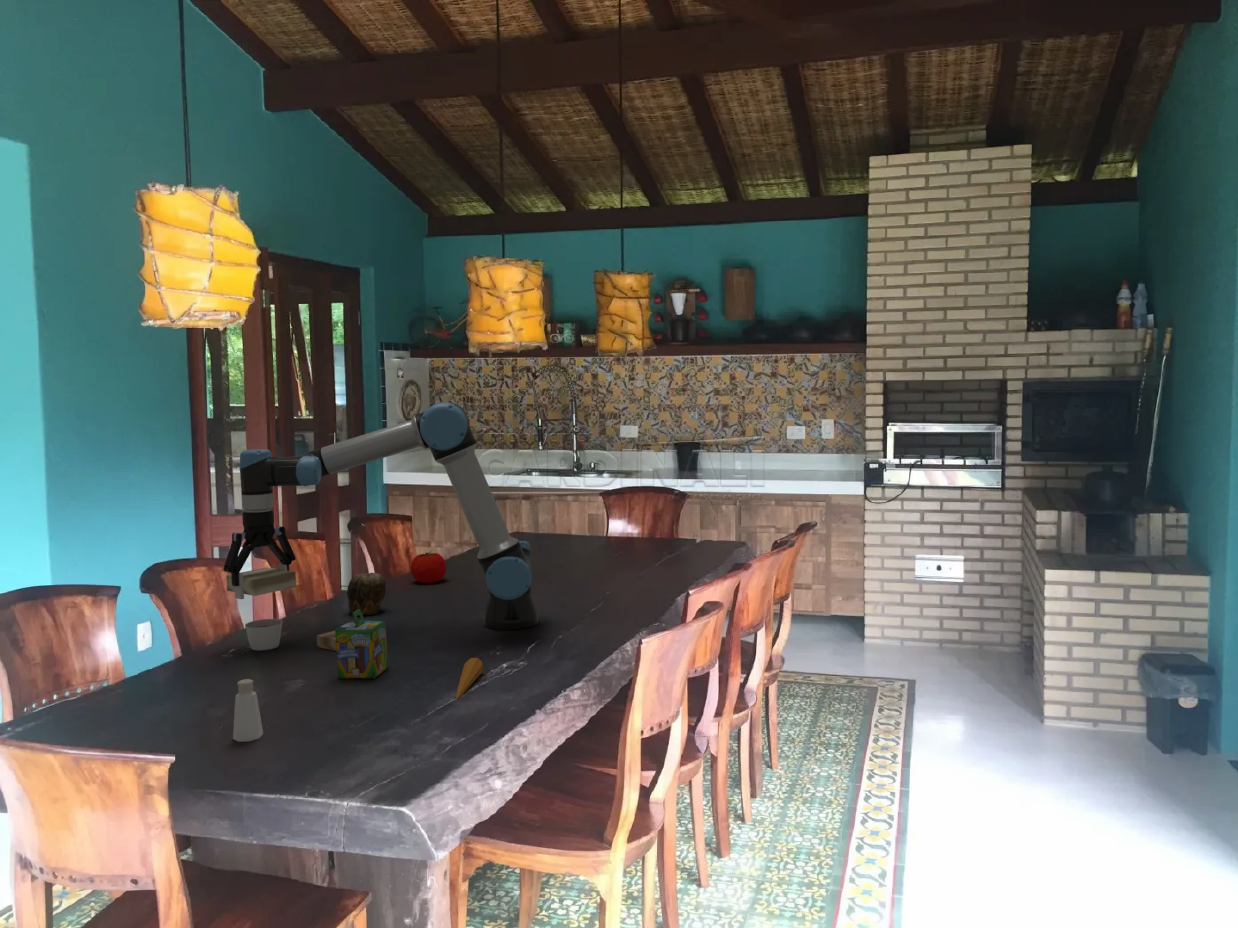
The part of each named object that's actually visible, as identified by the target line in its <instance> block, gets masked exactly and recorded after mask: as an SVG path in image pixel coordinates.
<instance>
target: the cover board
mask: <svg viewBox="0 0 1238 928" xmlns="http://www.w3.org/2000/svg"><path fill="white" fill-rule="evenodd" d="M240 573H243V587H244V595H248V596H253V597H256V596H261V595H266V594H270V593H271V594H272V593H277V592H280V591H286V590H285V589H288V590H289V589H294V588H297V579H296V578H297V576H296V571H292V570H289V571H287V570H281V569H278V568H273V567H263V568H257V569H252V570H248V571H242V572H241V571H240ZM226 591H227V592H233V593H235V586H232V579H231V573H230V574H227V575H226Z"/></svg>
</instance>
